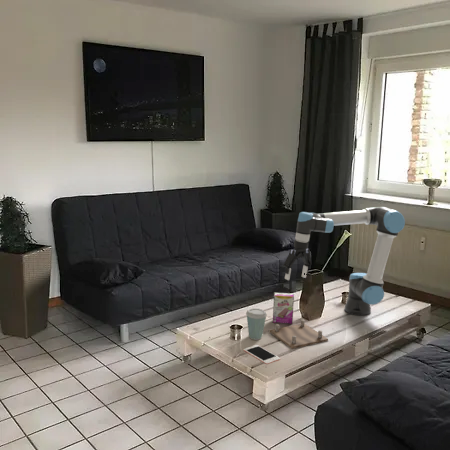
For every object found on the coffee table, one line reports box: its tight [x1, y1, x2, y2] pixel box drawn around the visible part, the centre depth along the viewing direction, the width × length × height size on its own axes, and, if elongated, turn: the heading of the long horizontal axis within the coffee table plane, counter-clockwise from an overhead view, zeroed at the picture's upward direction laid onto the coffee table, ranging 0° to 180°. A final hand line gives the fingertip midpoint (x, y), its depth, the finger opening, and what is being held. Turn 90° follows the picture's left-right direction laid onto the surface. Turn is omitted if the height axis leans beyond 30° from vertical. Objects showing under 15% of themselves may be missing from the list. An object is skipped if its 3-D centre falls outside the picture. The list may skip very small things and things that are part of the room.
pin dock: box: [269, 319, 329, 350], centre depth 263 cm, size 22×22×5 cm
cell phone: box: [243, 344, 281, 365], centre depth 243 cm, size 9×18×1 cm, turn 36°
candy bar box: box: [272, 292, 295, 324], centre depth 280 cm, size 11×5×16 cm, turn 84°
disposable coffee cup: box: [245, 308, 268, 341], centre depth 260 cm, size 11×11×15 cm
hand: (295, 278), depth 274 cm, fingers open, 13 cm apart
